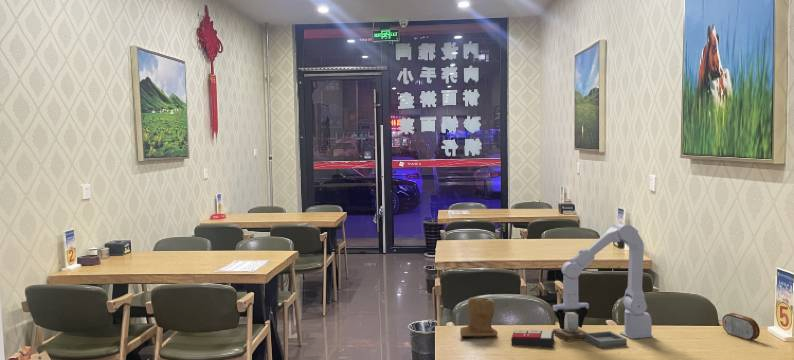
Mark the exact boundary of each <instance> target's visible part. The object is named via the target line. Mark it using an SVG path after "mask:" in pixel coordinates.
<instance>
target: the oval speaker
mask: <svg viewBox="0 0 794 360" xmlns="http://www.w3.org/2000/svg"><path fill="white" fill-rule="evenodd" d="M721 321H722V322H721V325H722V327H723V330H724V331H725V332H726V333H727V334H728V335H730V336H733V337H737V338H740V339H742V340H747V341H752V340H753V341H754V340H757V339H758V338H759V336H760V334H761V333H760V332H761V331H760V327H759V324H758V323H757V321H756V320H755V319H753V318H751V317H749V316H745V315H741V314H739V313H735V312H731V313H726V314H725V315H723V317H722V320H721Z"/></svg>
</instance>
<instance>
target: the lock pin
mask: <svg viewBox="0 0 794 360" xmlns="http://www.w3.org/2000/svg"><path fill="white" fill-rule="evenodd" d="M565 313H566V314H565V320H564V332H566V333H567V334H572V333H578V328H579V327H578V314H577V312H574V311H570V312H569V311H568V312H565Z"/></svg>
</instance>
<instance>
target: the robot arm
mask: <svg viewBox="0 0 794 360" xmlns="http://www.w3.org/2000/svg"><path fill="white" fill-rule="evenodd" d="M621 241H622V242H623V243H624V244H625V245H626V246H627V247H628V248H629V249H628V267H627V268H628V269H627V270H628V273H627V287H626V289H625V291H624V296H623V298H622V301H621V302H622V305H623V307H624V309H625V310H624V331H620V332H619V334H621V336H622V335H623V336H625V337H627V338H630V339H632V340H633V339H644V338H652V337H653V338H654V335H653V334H652V333H653V332H652V327H653V325H652V317H651V315H650V313H649V312H647V311H646V310H647V308H648V305H647V301H646V299H645V298H646V296H645V293H644V290H643V275H644V274H643V273H644V253H645V250H644V248H645V244H644V242H643V239H642V237H641V236H640V234H639V230H638V229H636V228H635V227H634V226H633V225H629V224H625V223H623V222H617V223H615V224H613V225H612V226H611V227H609V228H608V229H607V230H606V231H605V233H603V234H602V235H601V236H600V237H599V238H598V239H597V240H596V241H595V242H594V243H593V244H591V246H590V247H589V248H582V249H579V250H578V251H577V252H578V253H577V254H575V255H574V256H573V257H571V258H569V260H568V261H566V262H564V263H563V264H562V267H561V268H560V270H561V273H562V274H563V280H562V283H563V284H562V299H563V300H562V302H563V303H558V304H553V305H552V311H553V313H554V314H555V316H556V318H557V321H558V325H559V328H561V329H564V320H565V314H566V313H567V312H564V311H566V310H569V311H570V310H576V312H575V313H576V314H578V328H579V329H581V328H583V325H584V324H583V323H584V321H585V318H586V316H587V314H588V313H589V310H588V309H590V304H589V303H588V302H579V276H581V272H582V271H583V270H584V269H586V267H588V266H589V265H590V264H591V263H593V261H595V257H596V255H597V254H598V253H600V251H602V250H603V249H604V248H606V247H607V246H608V245H610V244H611V243H618V242H621Z"/></svg>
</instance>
